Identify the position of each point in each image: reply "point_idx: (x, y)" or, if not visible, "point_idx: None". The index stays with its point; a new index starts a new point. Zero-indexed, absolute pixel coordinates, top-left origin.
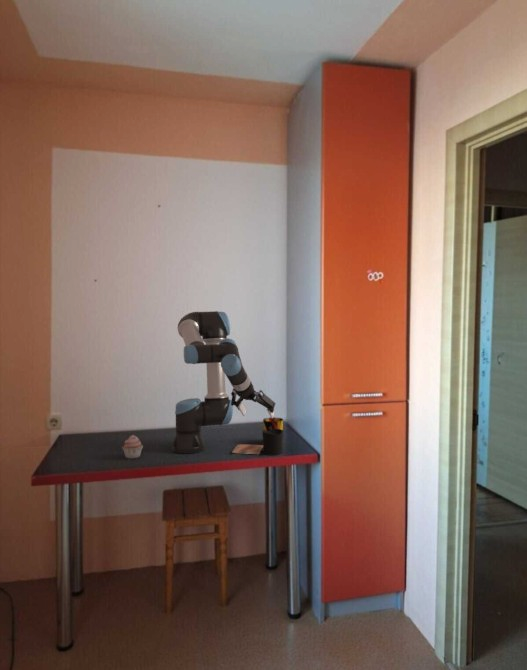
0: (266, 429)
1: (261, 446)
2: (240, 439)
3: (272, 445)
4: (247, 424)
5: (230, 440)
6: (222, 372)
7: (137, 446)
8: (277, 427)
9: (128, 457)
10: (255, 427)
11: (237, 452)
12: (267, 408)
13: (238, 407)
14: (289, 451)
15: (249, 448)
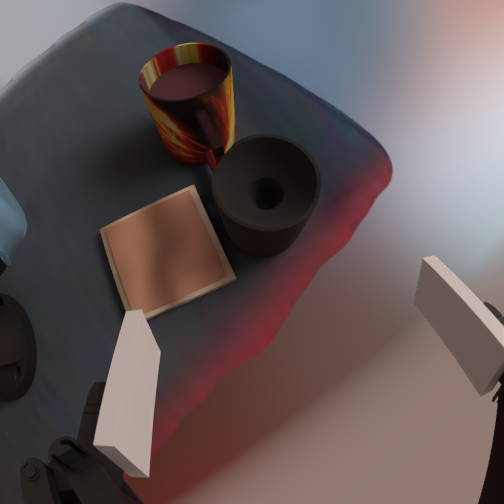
0: (178, 126)
1: (194, 201)
2: (74, 158)
3: (289, 240)
4: (51, 59)
5: (52, 187)
6: None
7: None
8: (225, 100)
9: None
10: (76, 60)
11: (152, 316)
12: (489, 386)
13: (135, 473)
14: None
15: (169, 255)
